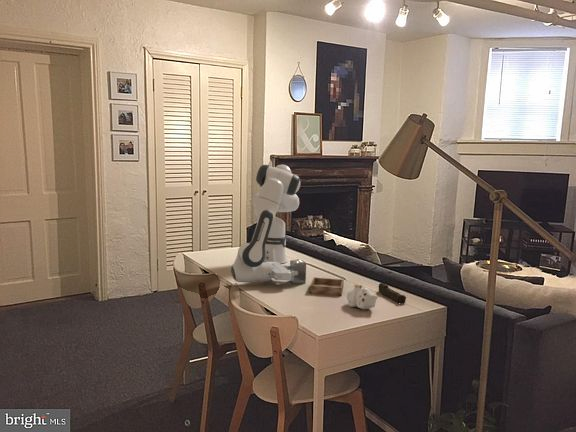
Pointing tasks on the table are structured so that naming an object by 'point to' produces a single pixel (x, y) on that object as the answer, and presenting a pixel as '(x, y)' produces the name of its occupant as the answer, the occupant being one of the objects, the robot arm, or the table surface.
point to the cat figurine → (361, 298)
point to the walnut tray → (327, 286)
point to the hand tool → (391, 293)
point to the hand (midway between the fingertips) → (294, 270)
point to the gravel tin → (300, 268)
